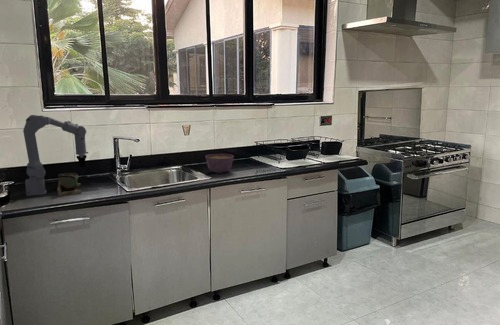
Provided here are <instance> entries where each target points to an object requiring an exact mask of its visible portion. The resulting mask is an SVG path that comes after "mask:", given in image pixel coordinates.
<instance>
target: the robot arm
mask: <svg viewBox="0 0 500 325" xmlns="http://www.w3.org/2000/svg"><path fill="white" fill-rule="evenodd" d="M48 125H50V126H55V127H58V128H61V130H62V131H63V132H67V133H70V134H73V136H74V143H75V144H74V145H75V155H76V158H77V160H78V163H79V166H80V168H84V167H85V166H86V159H87V154H89V151H87V147H86V134H87V129H86V127H84V126H82V125H79V124H78V123H73V122H71V121H70V120H68V121H64V122H63V121H59V120H58V119H56V118H55V119H54V118H53V117H49V116H44V115H37V114H31V115H29V116H28V117H26V119H25V124H24V127H23V131H22V132H23V138H24V142H25V143H24V144H25V148H26V153H27V159H28V162H27V163H26V169H25V170H26V172H25V173H26V175H27V176H28V178H26V179H25V181H24V182H25V183H24V184H25V193H26V197H32V196H42V195H47V192H48V191H47V189H46V184H45V177H46V169H45V167H44V165H43V163H42V162H41V159H40V153H39V150H38V143H37V138H36V137H37V136H36V133H37V132H38V131H39V130H41V129H42V128H44V127H46V126H48Z"/></svg>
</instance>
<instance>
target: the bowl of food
mask: <svg viewBox="0 0 500 325" xmlns="http://www.w3.org/2000/svg"><path fill="white" fill-rule="evenodd" d="M204 156H205V161H206V165H207V168H208V169H209V171H211V172H213V173H214V172H215V173H214V174H219V173H220V174H224V173H223V172H225V173H227V172H229V171H230V170H231V168H232V165H233V162H234V157H235V156H234V155H233V154H230V153H213V154H206V155H204Z"/></svg>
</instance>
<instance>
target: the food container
mask: <svg viewBox="0 0 500 325" xmlns="http://www.w3.org/2000/svg"><path fill="white" fill-rule="evenodd" d="M57 178H58V179H59V180H60V185H61V192H66V191H76V190H78V187H77V183H78V179H79V175H78V173H76V172H66V173H65V172H64V173H59V174H58V176H57ZM59 180H58V181H59Z"/></svg>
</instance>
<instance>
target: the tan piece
mask: <svg viewBox="0 0 500 325" xmlns="http://www.w3.org/2000/svg"><path fill="white" fill-rule="evenodd" d="M79 187H82V186H81V182H79V183H78V182H77V188H79ZM56 192H57V198H61V196H71V195H79V194H82V189H79V190H78V189H77V190H76V191H66V192H63V191H61V185H60V180H58V183H57V189H56Z"/></svg>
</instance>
